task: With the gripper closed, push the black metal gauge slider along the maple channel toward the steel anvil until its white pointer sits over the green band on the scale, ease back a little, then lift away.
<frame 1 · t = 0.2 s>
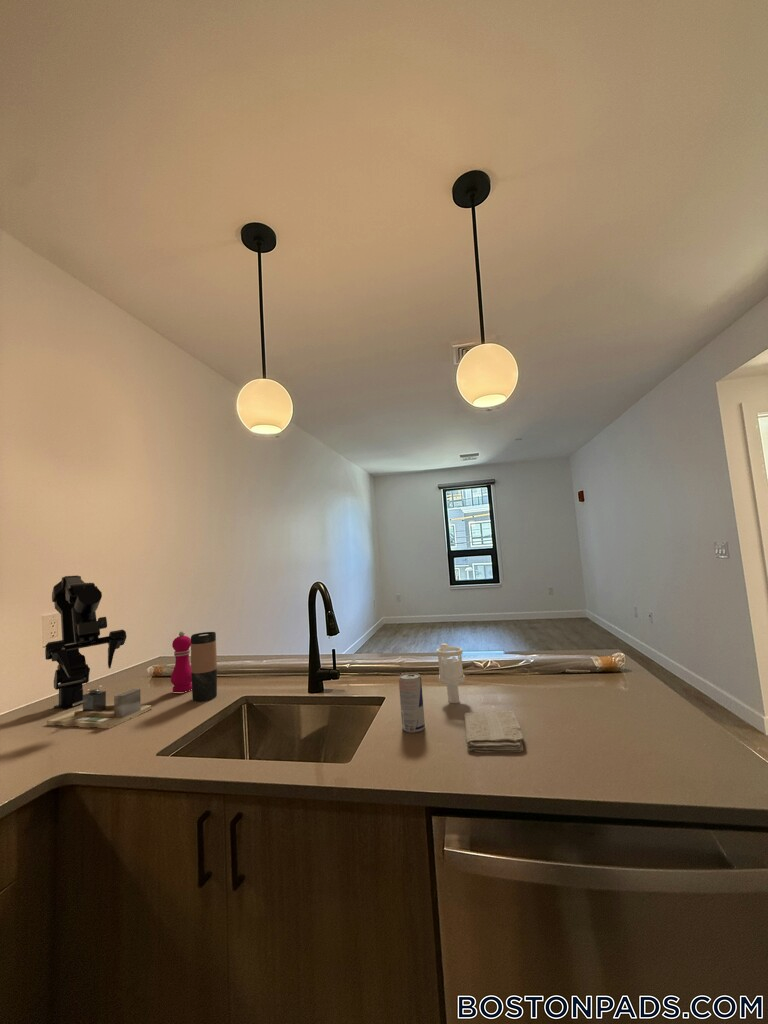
hand: (90, 672, 117), 15 cm above the worktop, tool tilted 30°, fingers open, 9 cm apart
energy drink: (413, 729, 99), on the worktop
washcloth: (492, 737, 93), on the worktop
travel mug: (204, 698, 134), on the worktop
gauge board: (100, 717, 123), on the worktop
pepper mill: (182, 691, 144), on the worktop
gauge slider: (87, 703, 122), point 5 cm above the worktop, slide at 0.0 cm
strainer: (453, 702, 115), on the worktop
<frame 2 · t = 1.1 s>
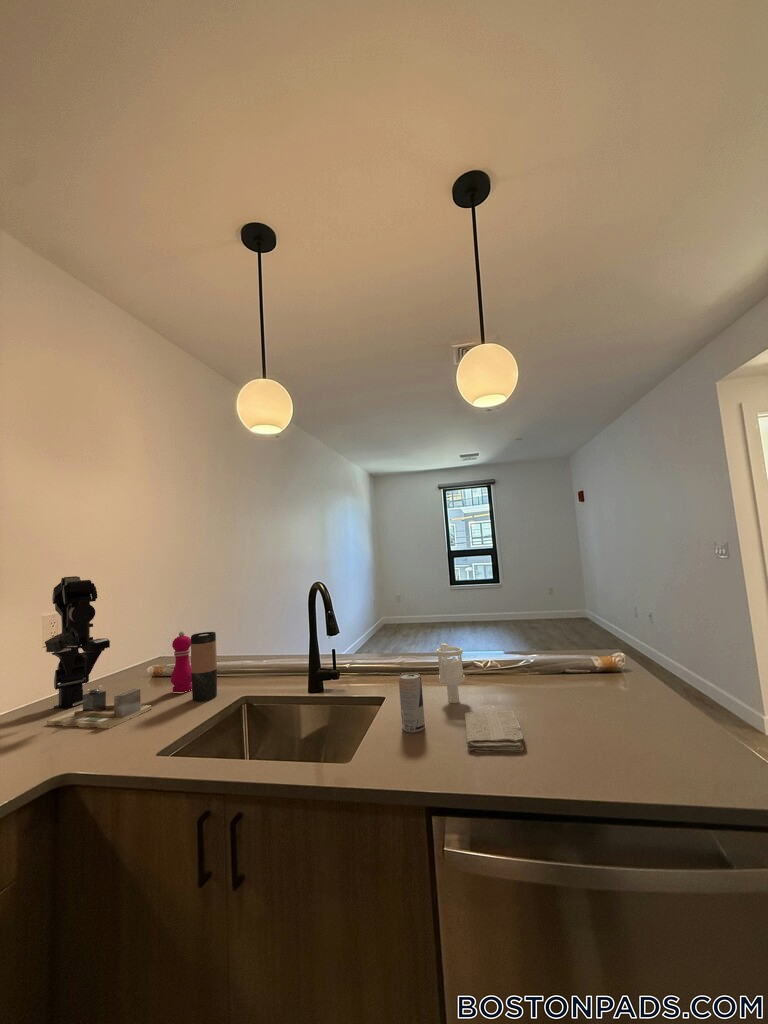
hand: (78, 674, 127), 12 cm above the worktop, tool pointing down, fingers open, 7 cm apart
nothing on the worktop moved.
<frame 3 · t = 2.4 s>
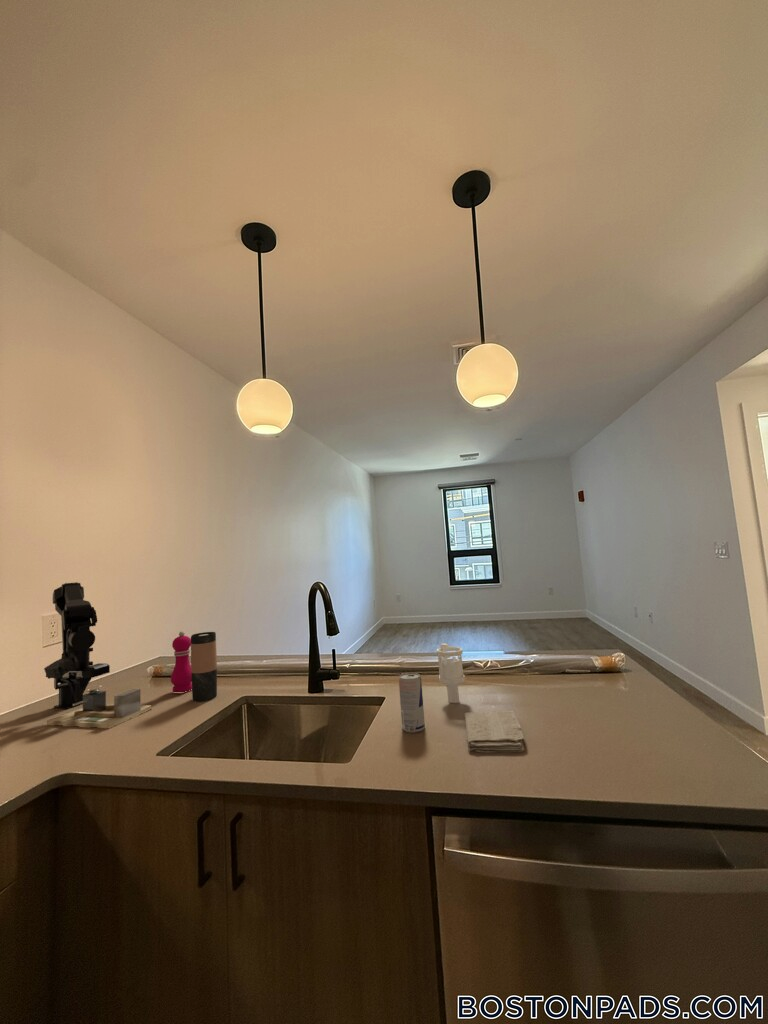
hand: (77, 699, 126), 5 cm above the worktop, tool pointing down, fingers closed
nothing on the worktop moved.
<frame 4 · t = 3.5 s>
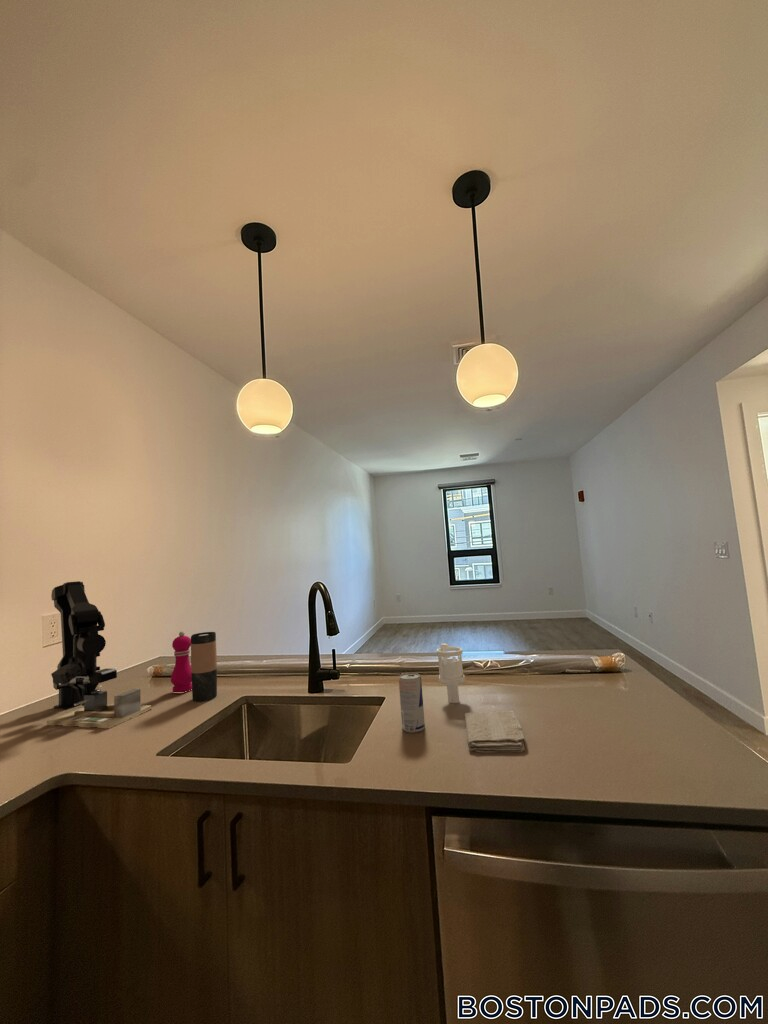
hand: (84, 705, 125), 3 cm above the worktop, tool pointing down, fingers closed
gauge slider: (88, 703, 122), point 5 cm above the worktop, slide at 0.5 cm, touching gripper
everything else where it was.
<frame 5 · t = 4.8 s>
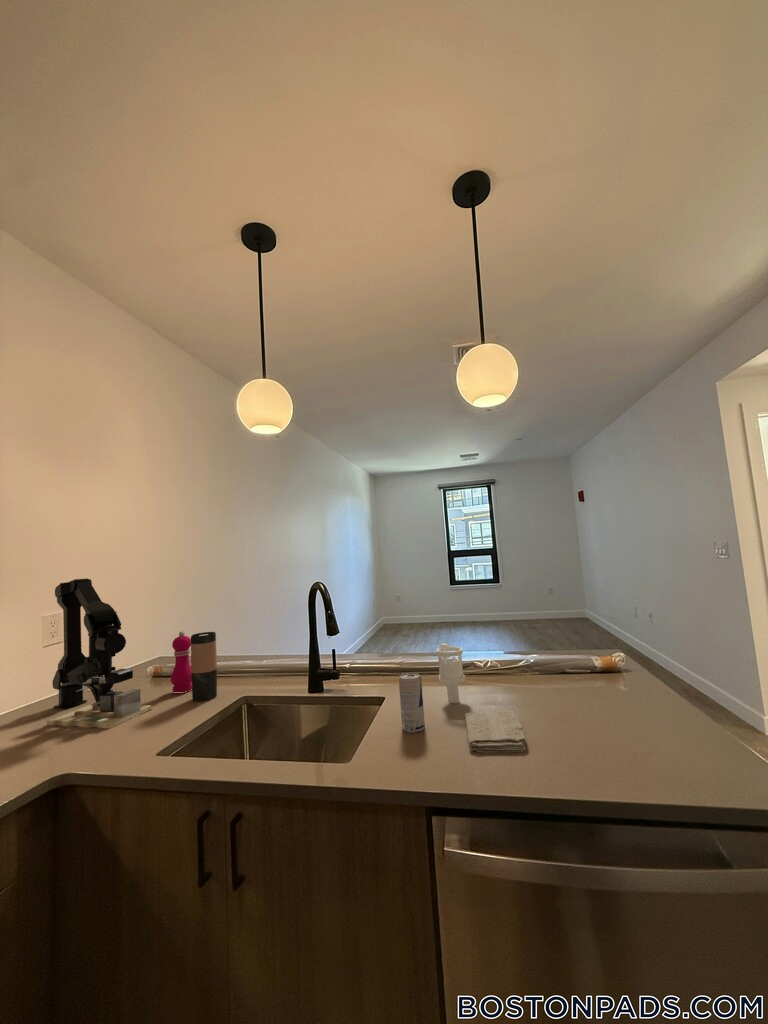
hand: (100, 706, 123), 3 cm above the worktop, tool pointing down, fingers closed
gauge slider: (104, 704, 120), point 5 cm above the worktop, slide at 6.6 cm, touching gripper
everything else where it was.
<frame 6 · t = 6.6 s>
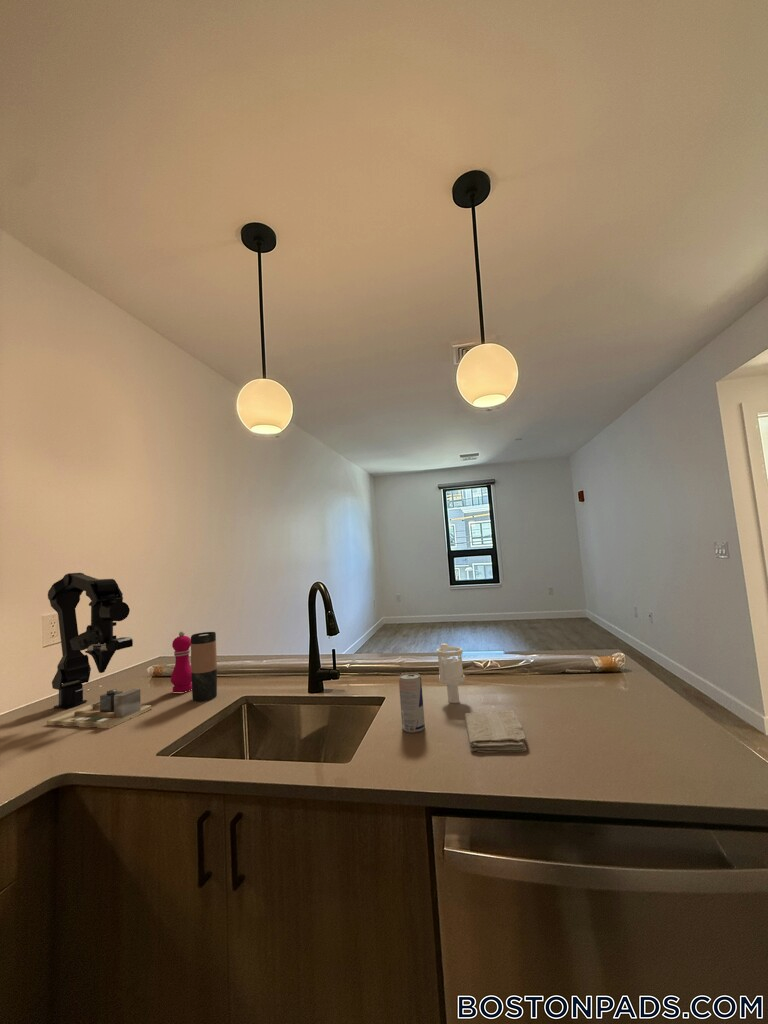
hand: (101, 672, 128), 12 cm above the worktop, tool pointing down, fingers closed
gauge slider: (105, 704, 120), point 4 cm above the worktop, slide at 6.6 cm
everything else where it was.
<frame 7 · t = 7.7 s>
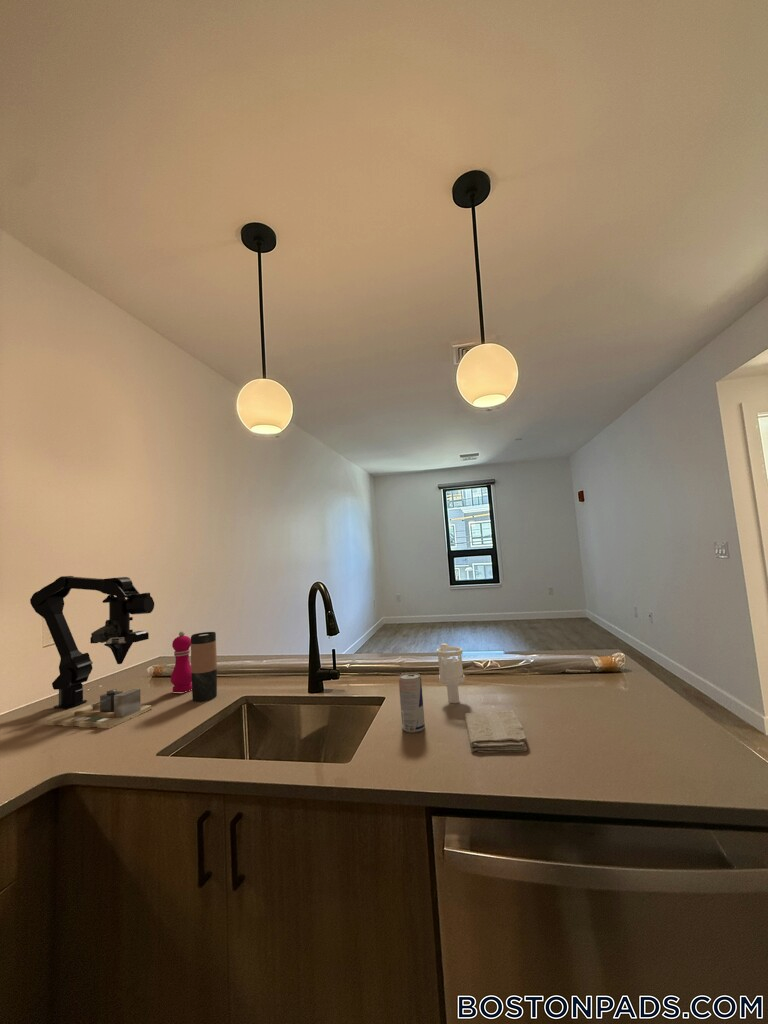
hand: (119, 664, 138), 12 cm above the worktop, tool pointing down, fingers closed
nothing on the worktop moved.
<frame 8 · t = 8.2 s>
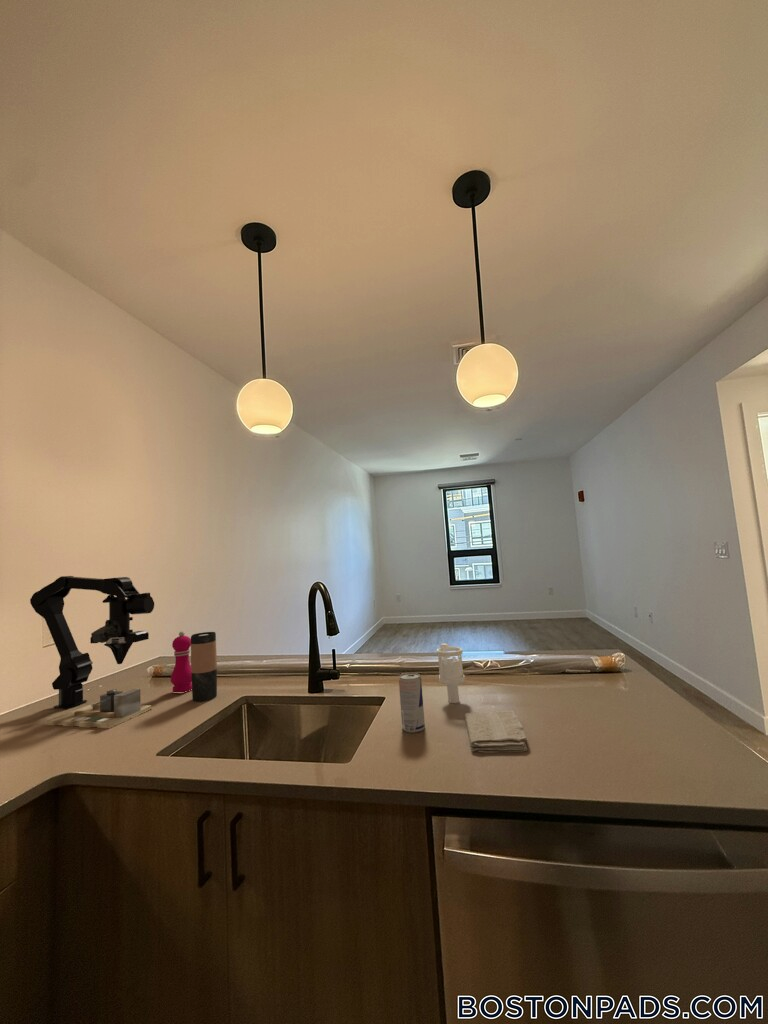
hand: (119, 664, 138), 12 cm above the worktop, tool pointing down, fingers closed
nothing on the worktop moved.
at the end: gauge slider slide at 6.6 cm; gauge slider moved 6.6 cm from its start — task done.
